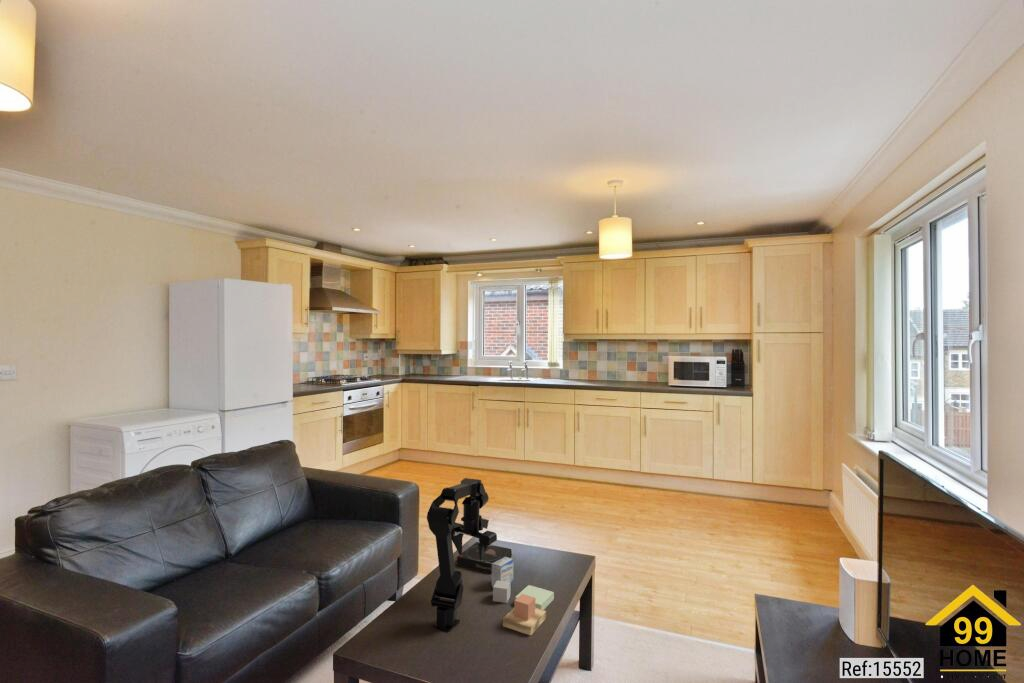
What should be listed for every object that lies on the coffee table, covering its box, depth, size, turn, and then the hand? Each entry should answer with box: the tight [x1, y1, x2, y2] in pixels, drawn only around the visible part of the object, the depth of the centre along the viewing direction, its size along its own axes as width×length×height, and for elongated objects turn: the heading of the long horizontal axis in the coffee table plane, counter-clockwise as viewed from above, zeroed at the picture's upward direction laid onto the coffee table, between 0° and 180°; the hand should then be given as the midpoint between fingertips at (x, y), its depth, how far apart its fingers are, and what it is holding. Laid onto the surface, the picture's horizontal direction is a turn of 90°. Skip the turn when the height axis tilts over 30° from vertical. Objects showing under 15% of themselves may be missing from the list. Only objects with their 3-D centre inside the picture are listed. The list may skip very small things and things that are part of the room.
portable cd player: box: [456, 541, 513, 574], centre depth 207 cm, size 16×17×4 cm
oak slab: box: [502, 607, 547, 636], centre depth 163 cm, size 11×10×2 cm
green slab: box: [514, 584, 555, 610], centre depth 176 cm, size 10×10×2 cm
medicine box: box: [491, 557, 515, 587], centre depth 188 cm, size 8×4×9 cm, turn 143°
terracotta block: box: [513, 594, 535, 620], centre depth 163 cm, size 5×5×5 cm
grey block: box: [492, 580, 512, 604], centre depth 177 cm, size 5×5×5 cm
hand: (470, 557), depth 180 cm, fingers open, 9 cm apart
